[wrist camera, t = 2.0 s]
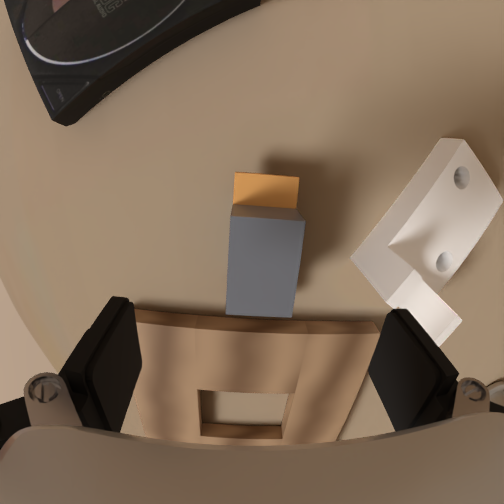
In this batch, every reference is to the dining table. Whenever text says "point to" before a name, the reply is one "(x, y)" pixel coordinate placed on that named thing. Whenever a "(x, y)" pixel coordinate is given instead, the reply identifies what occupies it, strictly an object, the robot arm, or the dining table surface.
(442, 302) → the bracket
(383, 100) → the dining table surface
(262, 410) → the dining table surface
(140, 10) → the portable cd player
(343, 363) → the plate
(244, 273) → the block
